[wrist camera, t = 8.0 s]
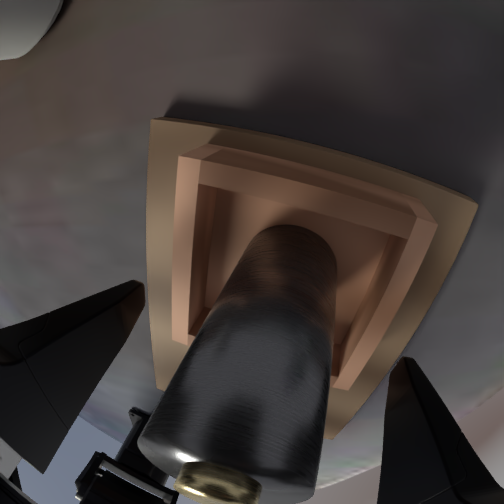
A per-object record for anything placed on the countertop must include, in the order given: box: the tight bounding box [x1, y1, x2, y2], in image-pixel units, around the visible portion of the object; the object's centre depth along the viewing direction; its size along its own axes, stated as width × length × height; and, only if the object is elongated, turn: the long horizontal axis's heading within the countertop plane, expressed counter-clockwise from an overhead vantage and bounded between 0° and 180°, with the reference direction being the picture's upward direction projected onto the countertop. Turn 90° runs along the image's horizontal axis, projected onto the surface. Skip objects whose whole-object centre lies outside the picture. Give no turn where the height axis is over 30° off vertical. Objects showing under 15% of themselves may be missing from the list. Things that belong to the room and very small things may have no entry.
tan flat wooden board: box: [146, 117, 478, 440], centre depth 15 cm, size 19×14×4 cm
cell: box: [137, 224, 337, 504], centre depth 9 cm, size 4×4×10 cm
